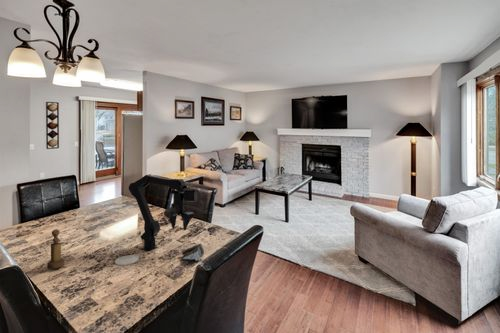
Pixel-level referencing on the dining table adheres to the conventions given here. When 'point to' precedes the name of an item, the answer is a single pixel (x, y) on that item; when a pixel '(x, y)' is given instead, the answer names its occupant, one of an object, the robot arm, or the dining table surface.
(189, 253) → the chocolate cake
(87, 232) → the dining table surface
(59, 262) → the wooden chess pawn
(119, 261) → the white round plate
